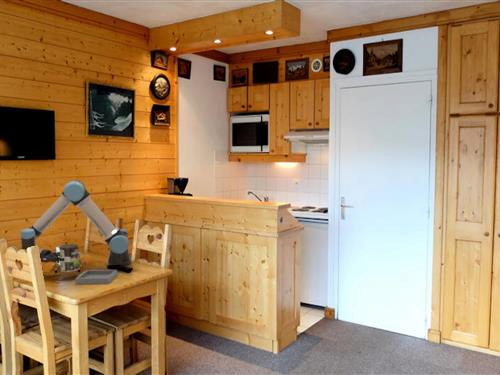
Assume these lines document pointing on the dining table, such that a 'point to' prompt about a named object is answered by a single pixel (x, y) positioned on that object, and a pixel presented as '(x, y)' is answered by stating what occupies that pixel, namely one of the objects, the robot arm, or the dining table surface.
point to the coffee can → (73, 254)
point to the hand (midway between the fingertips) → (75, 257)
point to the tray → (96, 277)
